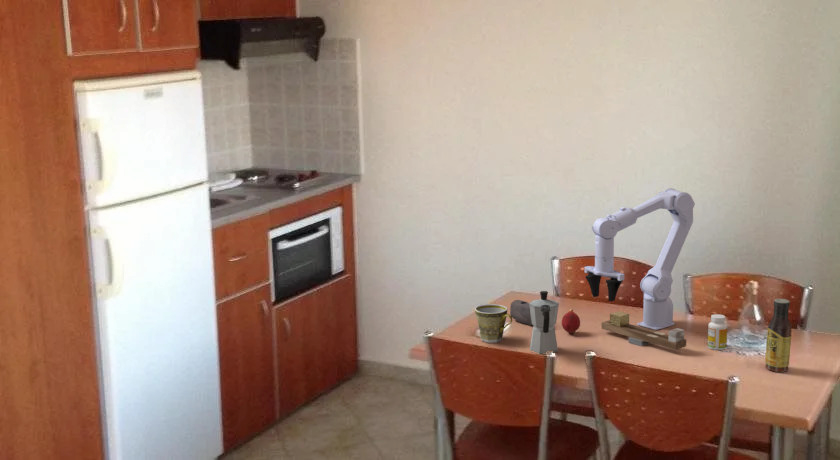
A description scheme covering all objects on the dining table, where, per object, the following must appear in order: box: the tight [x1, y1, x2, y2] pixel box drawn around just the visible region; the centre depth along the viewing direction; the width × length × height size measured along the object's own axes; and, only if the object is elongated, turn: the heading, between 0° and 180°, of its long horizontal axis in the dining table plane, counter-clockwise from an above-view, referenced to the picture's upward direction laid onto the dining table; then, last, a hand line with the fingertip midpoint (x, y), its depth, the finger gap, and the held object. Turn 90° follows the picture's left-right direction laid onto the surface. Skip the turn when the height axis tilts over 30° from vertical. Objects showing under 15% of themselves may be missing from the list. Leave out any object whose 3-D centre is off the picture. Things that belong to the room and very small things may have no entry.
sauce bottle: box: [764, 298, 793, 373], centre depth 260 cm, size 6×6×20 cm
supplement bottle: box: [707, 313, 728, 351], centre depth 281 cm, size 5×5×10 cm
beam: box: [601, 319, 687, 351], centre depth 288 cm, size 7×28×6 cm, turn 38°
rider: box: [609, 310, 630, 327], centre depth 294 cm, size 4×4×5 cm
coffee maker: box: [528, 290, 560, 355], centre depth 280 cm, size 15×9×18 cm, turn 178°
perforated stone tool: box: [509, 299, 534, 327], centre depth 308 cm, size 15×5×7 cm, turn 37°
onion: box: [561, 308, 581, 335], centre depth 297 cm, size 6×6×8 cm
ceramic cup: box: [474, 303, 513, 344], centre depth 292 cm, size 13×10×10 cm
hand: (603, 298), depth 298 cm, fingers open, 6 cm apart
